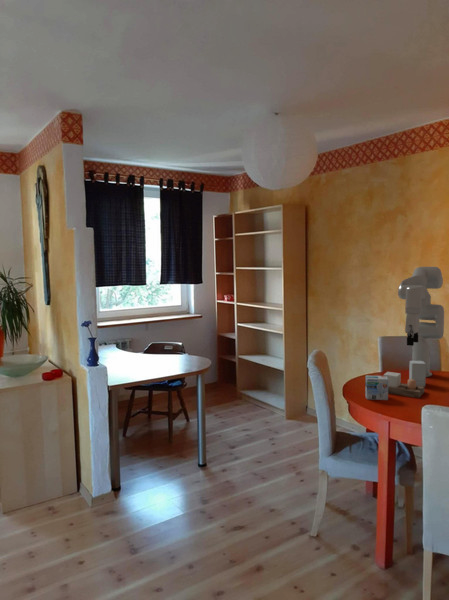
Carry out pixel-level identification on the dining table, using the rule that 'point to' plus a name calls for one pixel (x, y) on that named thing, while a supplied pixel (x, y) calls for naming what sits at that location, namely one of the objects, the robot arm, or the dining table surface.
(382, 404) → the dining table surface
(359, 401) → the dining table surface
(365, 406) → the dining table surface
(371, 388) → the light bulb box
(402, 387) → the board
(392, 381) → the cover
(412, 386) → the tan rounded egg shape
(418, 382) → the supplement box
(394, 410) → the dining table surface
